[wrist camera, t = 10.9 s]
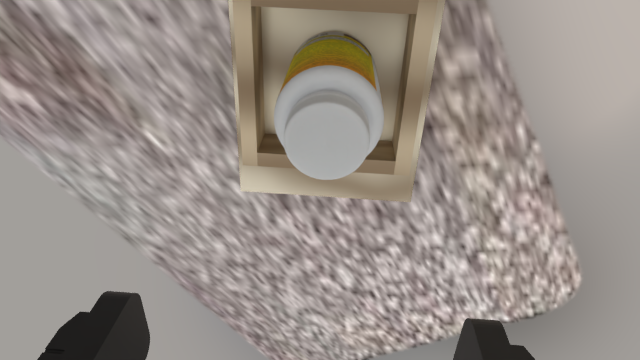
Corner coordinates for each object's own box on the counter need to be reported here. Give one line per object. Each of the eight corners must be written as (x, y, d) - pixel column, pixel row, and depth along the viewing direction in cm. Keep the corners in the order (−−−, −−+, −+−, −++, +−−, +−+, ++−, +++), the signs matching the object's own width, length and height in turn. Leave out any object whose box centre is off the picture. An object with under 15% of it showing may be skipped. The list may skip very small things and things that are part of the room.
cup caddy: (225, -102, 25) (205, -105, 21) (457, -92, 24) (474, -94, 21) (243, 184, 35) (231, 213, 31) (409, 195, 34) (415, 225, 31)
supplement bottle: (278, 44, 28) (245, 104, 19) (363, 17, 27) (370, 67, 18) (306, 122, 30) (289, 206, 22) (385, 100, 29) (400, 179, 21)
